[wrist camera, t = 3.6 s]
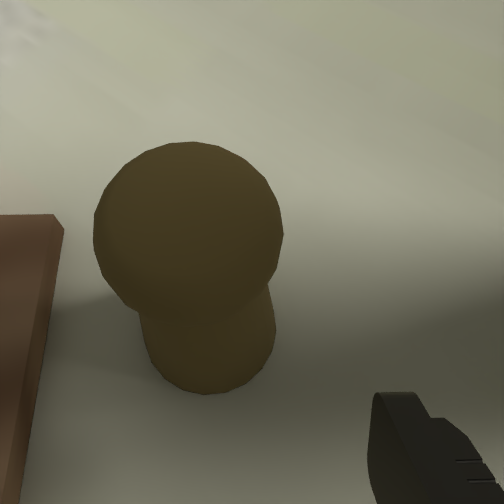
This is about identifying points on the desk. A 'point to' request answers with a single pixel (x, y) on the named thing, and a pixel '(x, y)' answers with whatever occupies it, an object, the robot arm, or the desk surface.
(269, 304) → the cork
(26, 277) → the mount board
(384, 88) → the desk surface
